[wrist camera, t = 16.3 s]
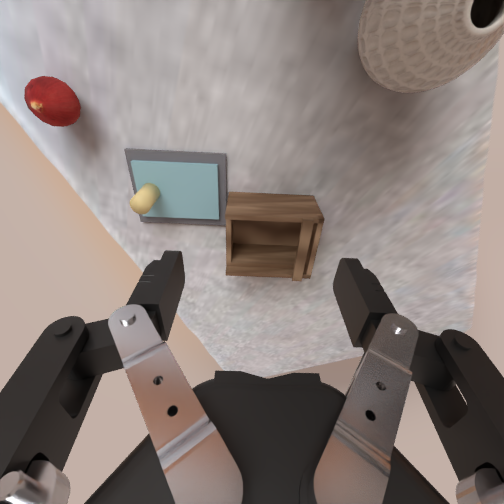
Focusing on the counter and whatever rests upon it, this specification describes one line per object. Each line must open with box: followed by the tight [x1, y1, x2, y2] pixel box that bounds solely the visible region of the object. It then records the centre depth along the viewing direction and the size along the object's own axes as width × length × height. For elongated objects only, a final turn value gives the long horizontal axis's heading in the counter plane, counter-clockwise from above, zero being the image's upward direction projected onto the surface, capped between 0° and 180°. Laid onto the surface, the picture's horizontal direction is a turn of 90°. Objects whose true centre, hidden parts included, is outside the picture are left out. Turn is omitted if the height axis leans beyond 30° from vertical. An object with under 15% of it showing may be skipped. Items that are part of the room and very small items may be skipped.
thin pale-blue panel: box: [130, 160, 219, 219], centre depth 43 cm, size 10×14×6 cm
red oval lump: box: [25, 76, 81, 127], centre depth 34 cm, size 6×6×8 cm
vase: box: [357, 0, 504, 93], centre depth 26 cm, size 13×13×17 cm
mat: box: [124, 149, 226, 225], centre depth 45 cm, size 13×16×1 cm
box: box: [225, 192, 324, 281], centre depth 46 cm, size 12×15×9 cm
